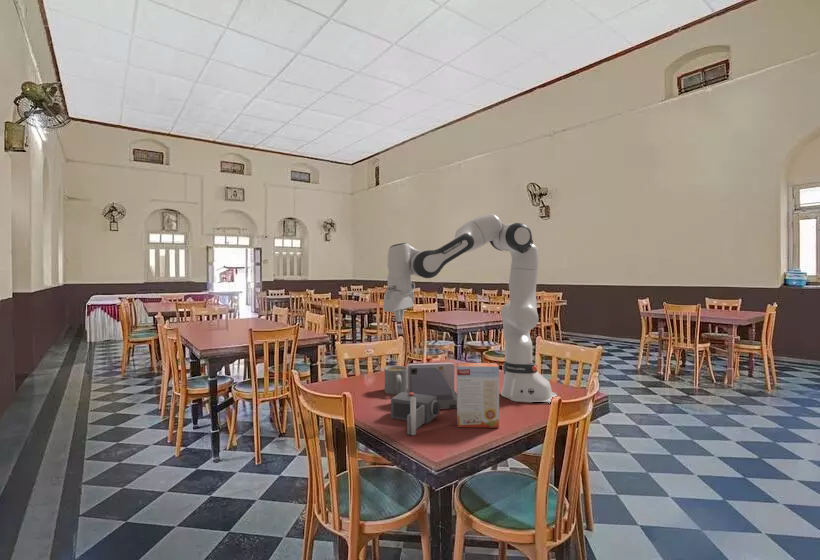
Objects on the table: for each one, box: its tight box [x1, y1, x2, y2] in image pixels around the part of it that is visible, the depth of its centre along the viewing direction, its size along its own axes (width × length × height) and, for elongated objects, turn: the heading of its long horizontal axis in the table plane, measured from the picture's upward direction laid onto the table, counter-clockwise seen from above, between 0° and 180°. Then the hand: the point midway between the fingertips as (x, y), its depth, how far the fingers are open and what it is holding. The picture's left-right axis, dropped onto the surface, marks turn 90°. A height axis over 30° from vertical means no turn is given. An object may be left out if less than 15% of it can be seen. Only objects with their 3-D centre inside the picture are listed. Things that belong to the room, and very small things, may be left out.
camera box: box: [390, 392, 441, 424], centre depth 157 cm, size 16×9×8 cm, turn 67°
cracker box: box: [456, 362, 500, 429], centre depth 149 cm, size 14×6×21 cm, turn 86°
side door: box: [406, 397, 425, 436], centre depth 145 cm, size 12×3×12 cm, turn 154°
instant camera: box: [406, 362, 457, 410], centre depth 174 cm, size 21×21×15 cm
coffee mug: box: [384, 365, 408, 395], centre depth 188 cm, size 13×10×10 cm
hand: (399, 321), depth 168 cm, fingers closed
